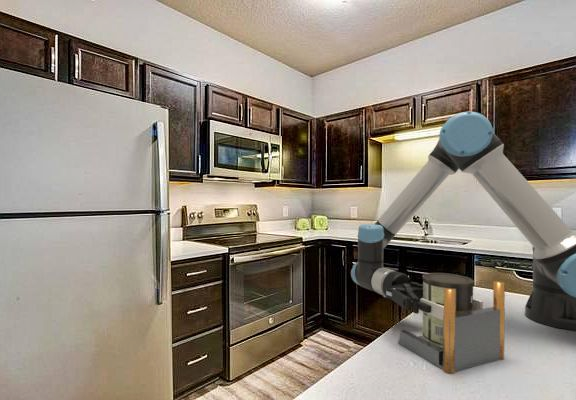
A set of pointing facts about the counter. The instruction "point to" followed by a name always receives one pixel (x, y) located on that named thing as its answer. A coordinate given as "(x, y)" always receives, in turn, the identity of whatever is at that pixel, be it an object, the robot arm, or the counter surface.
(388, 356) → the counter surface
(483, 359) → the keeper bracket
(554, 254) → the robot arm
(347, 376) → the counter surface
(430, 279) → the coffee can
